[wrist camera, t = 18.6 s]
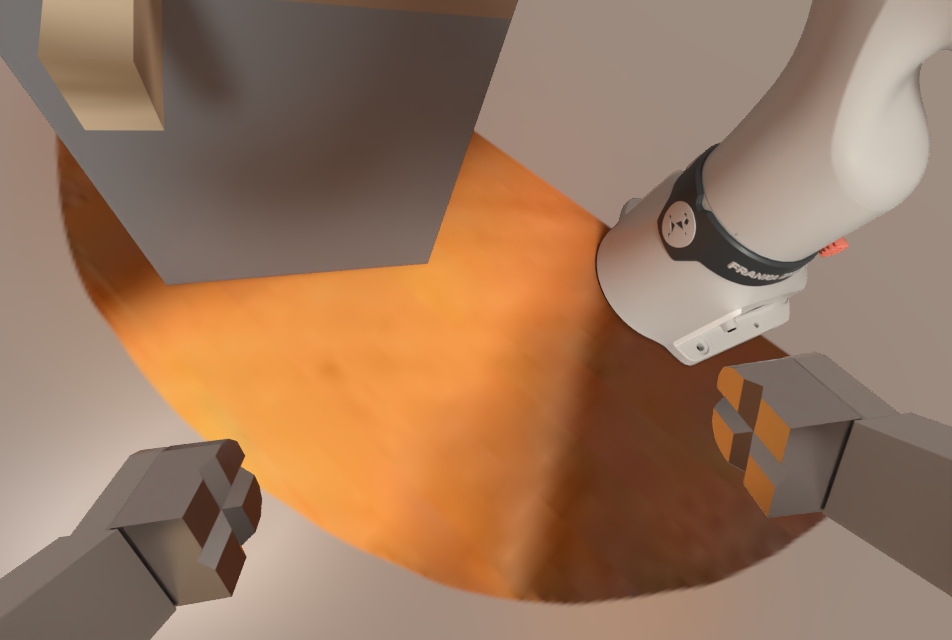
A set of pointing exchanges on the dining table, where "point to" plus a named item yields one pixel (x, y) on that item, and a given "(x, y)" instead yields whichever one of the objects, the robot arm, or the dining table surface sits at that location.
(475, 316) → the dining table surface
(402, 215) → the grey box
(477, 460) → the dining table surface
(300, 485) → the dining table surface
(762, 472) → the robot arm
